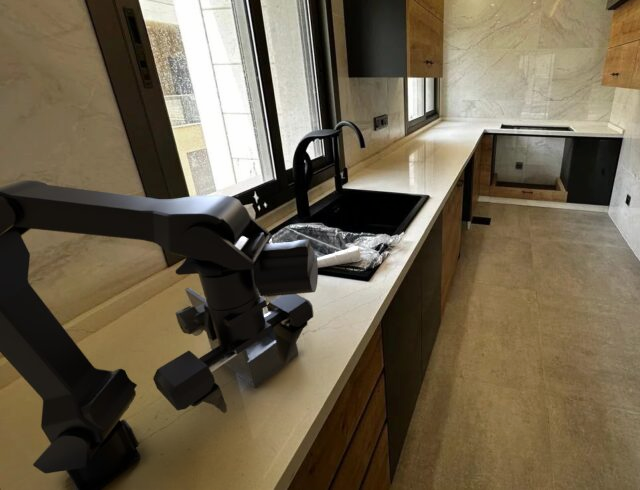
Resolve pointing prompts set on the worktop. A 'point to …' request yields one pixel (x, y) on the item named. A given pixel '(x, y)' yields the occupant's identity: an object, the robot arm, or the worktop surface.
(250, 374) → the box
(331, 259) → the unicorn horn
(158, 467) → the worktop surface
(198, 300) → the freezer lid
